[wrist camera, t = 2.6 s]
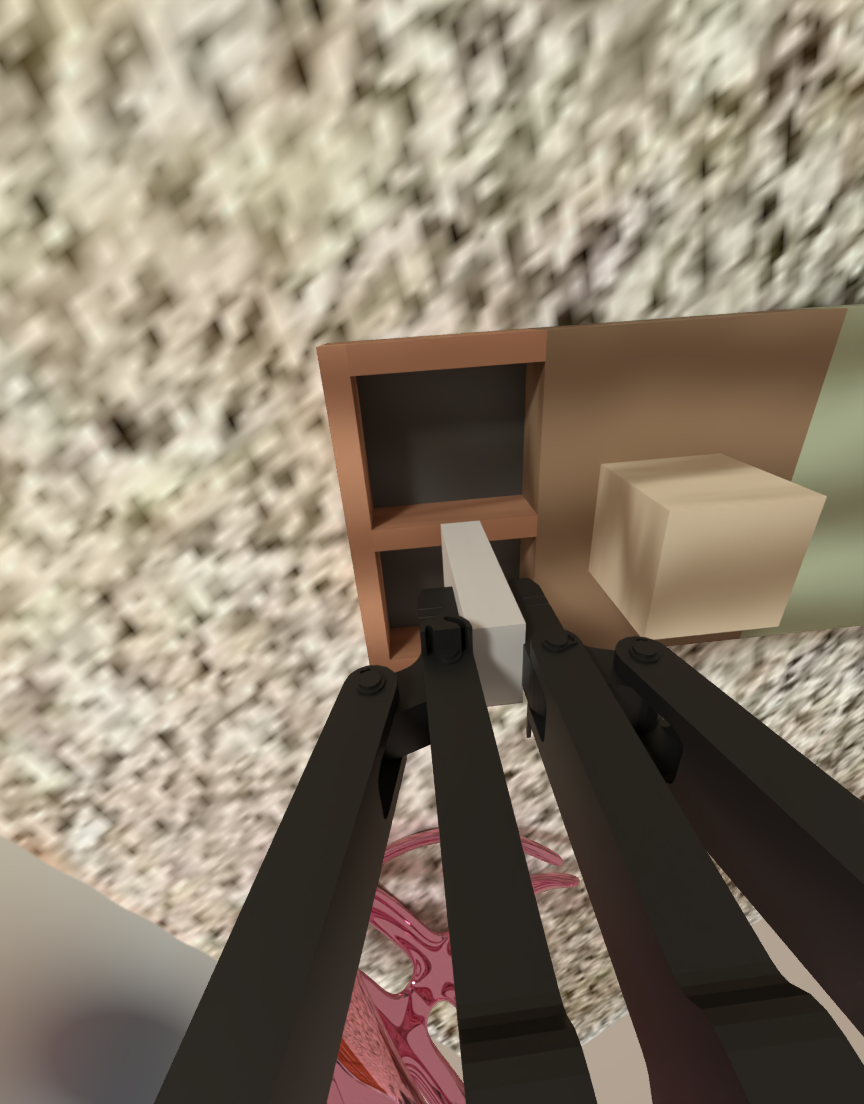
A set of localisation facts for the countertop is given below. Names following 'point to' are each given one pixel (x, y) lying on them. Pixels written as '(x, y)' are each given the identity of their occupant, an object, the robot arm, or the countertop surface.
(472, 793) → the robot arm
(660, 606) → the maple block
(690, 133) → the countertop surface
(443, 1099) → the spiral basket
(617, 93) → the countertop surface
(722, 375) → the board
